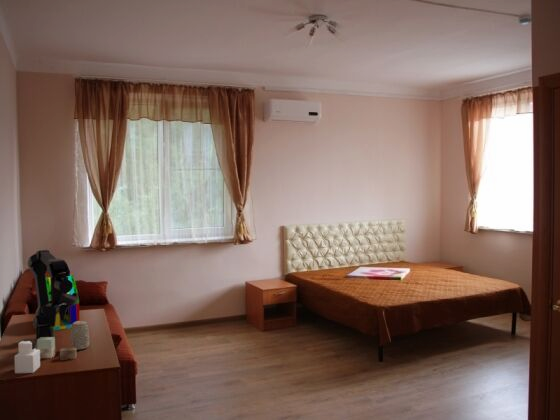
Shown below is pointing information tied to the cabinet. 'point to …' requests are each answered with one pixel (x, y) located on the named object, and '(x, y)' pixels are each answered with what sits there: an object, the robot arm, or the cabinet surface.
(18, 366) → the medicine bottle
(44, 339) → the sage brick
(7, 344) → the cabinet surface
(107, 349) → the cabinet surface
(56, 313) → the robot arm
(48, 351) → the birch brick
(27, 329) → the cabinet surface
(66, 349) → the walnut brick
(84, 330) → the carving
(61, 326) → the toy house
